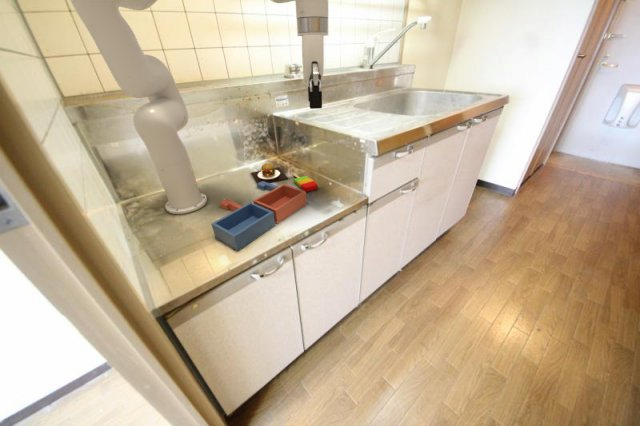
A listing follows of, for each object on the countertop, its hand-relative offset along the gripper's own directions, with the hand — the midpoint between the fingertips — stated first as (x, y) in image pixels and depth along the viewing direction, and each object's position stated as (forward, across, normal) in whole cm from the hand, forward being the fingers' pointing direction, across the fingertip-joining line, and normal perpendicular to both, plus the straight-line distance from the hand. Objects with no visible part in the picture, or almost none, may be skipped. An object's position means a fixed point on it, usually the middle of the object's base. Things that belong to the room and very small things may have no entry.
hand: (314, 104), depth 70 cm
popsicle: (+30, -12, -5) cm, 33 cm away
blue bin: (+30, +16, -21) cm, 40 cm away
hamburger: (+30, -20, -18) cm, 40 cm away
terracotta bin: (+30, +5, -12) cm, 33 cm away
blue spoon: (+30, -8, -17) cm, 35 cm away
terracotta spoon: (+30, +4, -27) cm, 41 cm away
